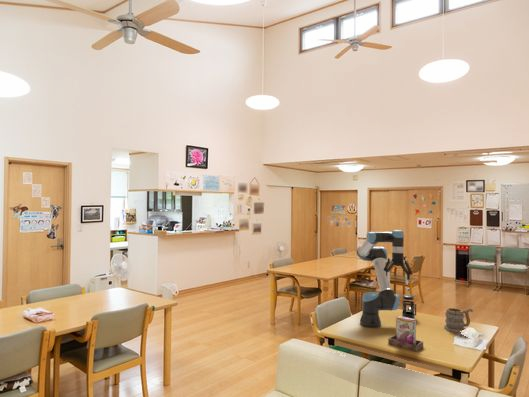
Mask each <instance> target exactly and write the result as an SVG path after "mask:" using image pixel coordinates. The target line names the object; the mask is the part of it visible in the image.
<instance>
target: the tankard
mask: <svg viewBox="0 0 529 397" xmlns="http://www.w3.org/2000/svg"><path fill="white" fill-rule="evenodd" d="M470 312H471V313H473V312H474V310H473V309H472V308H470V307H469V308H466V309H465V310H464V309H463V310H462V309H460V308H456V307H448V308H446V312H445V317H446V318H445V323H446V325H443V329H445V330H447V331H448V332H451V333H461V332H460V331H462V330H464V329H465V330H466V327H469V326H470V324H471V319H470V316H469V314H470ZM464 318H465V319H466V322H465V320H464Z"/></svg>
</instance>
